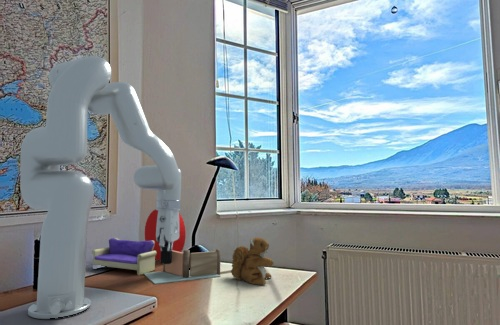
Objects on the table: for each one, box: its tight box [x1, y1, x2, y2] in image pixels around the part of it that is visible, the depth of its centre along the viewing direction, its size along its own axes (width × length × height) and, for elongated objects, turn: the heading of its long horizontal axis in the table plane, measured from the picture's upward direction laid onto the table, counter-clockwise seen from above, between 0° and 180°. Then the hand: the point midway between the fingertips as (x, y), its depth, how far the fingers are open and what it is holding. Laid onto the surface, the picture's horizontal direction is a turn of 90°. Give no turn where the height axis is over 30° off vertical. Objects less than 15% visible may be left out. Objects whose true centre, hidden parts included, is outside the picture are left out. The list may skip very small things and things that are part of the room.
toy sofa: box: [91, 237, 157, 276], centre depth 120 cm, size 21×9×10 cm, turn 68°
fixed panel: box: [182, 248, 222, 278], centre depth 113 cm, size 2×13×8 cm, turn 120°
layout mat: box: [143, 270, 221, 285], centre depth 114 cm, size 14×21×1 cm, turn 120°
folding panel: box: [162, 250, 183, 276], centre depth 115 cm, size 2×10×8 cm, turn 48°
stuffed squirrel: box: [230, 236, 275, 286], centre depth 110 cm, size 10×14×13 cm
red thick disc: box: [144, 208, 187, 261], centre depth 140 cm, size 20×6×20 cm, turn 47°
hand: (165, 263), depth 112 cm, fingers closed
